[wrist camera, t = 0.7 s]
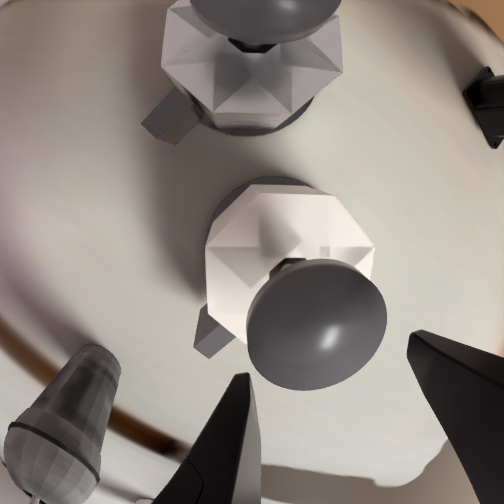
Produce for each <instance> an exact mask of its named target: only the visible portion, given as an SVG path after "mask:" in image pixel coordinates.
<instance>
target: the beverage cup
mask: <svg viewBox="0 0 504 504" xmlns="http://www.w3.org/2000/svg"><path fill="white" fill-rule="evenodd" d="M120 374H121V367H120V365H119V362H118V361H117V359H116V358H115V357H114V355H112V354H111V353H110V352H109V351H108V350H106V349H104V348H103V347H100V346H97V345H91V344H88V345H85V346H83V347H82V348H81V349H80V350H79V351H78V352H77V353H76V354H75V355H74V356H73V357H72V358H71V359H70V360H69V361H68V362H67V364H66V365H65V366H64V367H63V368H62V369H61V371H60V372H59V373H58V374H57V375H56V376H55V378H54V379H53V380H52V381H51V382H50V384H49V385H48V386H47V387H46V388H45V390H44V391H43V392H42V393H41V394H40V396H39V397H38V398H37V399H36V401H35V402H34V403H33V404H32V405H31V407H30V408H27V409H26V410H25V411H24V412H23V413H22V414H21V415H20V416H19V417H18V418H17V419H16V421H15V422H11V424H10V425H9V427H8V433H7V435H6V438H5V442H4V459H5V463H6V467H7V469H8V472H9V474H10V476H11V478H12V480H13V481H14V483H15V484H16V486H17V487H18V488H19V489H20V490H21V491H22V492H23V493H24V494H25V495H26V496H28V497H29V498H31V500H30V503H29V504H82V503H84V502H85V501H86V500H87V499H88V498H89V496H90V495H91V493H92V492H93V490H94V488H95V487H96V485H97V484H98V482H99V481H100V477H99V472H100V465H101V455H100V452H101V448H102V444H103V439H104V435H105V431H106V427H107V423H108V419H109V416H110V412H111V408H112V405H113V401H114V397H115V394H116V390H117V387H118V381H119V376H120Z"/></svg>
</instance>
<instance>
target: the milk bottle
mask: <svg viewBox="0 0 504 504" xmlns="http://www.w3.org/2000/svg"><path fill="white" fill-rule="evenodd" d="M152 501H153V500H150V499H139V500H137V501H136V502H135V504H151V502H152Z"/></svg>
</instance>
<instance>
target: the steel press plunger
mask: <svg viewBox="0 0 504 504" xmlns="http://www.w3.org/2000/svg"><path fill="white" fill-rule="evenodd" d="M189 1H190V4H191V7H192V9H193V11H194V12H195V14H196V15H197V16H198V18H199V19H200V20H201V21H202V22H203V23H204V24H206V25H207V26H208V27H210V28H211V29H213V30H214V31H216V32H218V33H220V34H222V35H224V36H227V37H230V38H232V39H236V40H239V41H242V42H243V45H244V46H245V47H247V48H249V49H257V48H259V47H260V46H261V45H262V44H282V43H288V42H293V41H297V40H300V39H303V38H305V37H308V36H310V35H312V34H314V33H315V32H317V31H318V30H319V29H321V28H322V27H323V26H324V25H325V24H326V23H327V21H328V20H329V19H330V17H331V16H332V15H333V13H334V12H335V11H336V9H337V8H338V6H339V5H340V3H341V0H189Z"/></svg>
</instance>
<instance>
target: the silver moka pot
mask: <svg viewBox="0 0 504 504" xmlns="http://www.w3.org/2000/svg"><path fill="white" fill-rule="evenodd" d="M161 67H162V69H163V70H164V71H165V73H166V74H167V75H168V77H169V78H170V79H171V81H172V82H173V83H174V85H175V86H176V88H175V89H174V90H173V91H172V92H171V93H170V94H169V95H168V96H167V97H166V98H165V99H164V100H163V101H162V102H161V103H160V104H159V105H158V106H157V107H156V108H155V109H154V110H153V111H152V112H151V113H150V114H149V115H148V116H147V117H146V118H145V119H144V120H143V122H142V123H141V124H142V125H143V126H144V127H145V128H146V129H147V130H148V131H149V132H150V133H151V134H152V135H153V136H155V137H156V138H157V139H158V140H162V141H165V142H168V143H171V144H174V145H176V144H177V143H178V142H179V141H180V140H181V139H182V138H183V137H184V136H185V135H186V134H187V133H188V132H189V131H190V130H191V129H192V128H193V127H194V126H195V125H196V124H197V123H198V122H199V121H200V122H201V123H203V124H204V125H206V126H208V127H209V128H211V129H213V130H215V131H218V132H220V133H224V134H227V135H232V136H238V137H256V136H263V135H267V134H270V133H274V132H276V131H278V130H281V129H283V128H284V127H286V126H288V125H290V124H291V123H292V122H294V121H295V120H296V119H298V118H299V117H300V116H301V115H302V114H303V113H304V112H305V111H306V109H307V108H308V107H309V105H310V104H311V102H312V100H313V98H314V96H315V95H316V94H317V93H318V92H320V91H321V90H322V89H323V88H324V87H326V86H327V85H328V84H329V83H331V82H332V81H333V80H334V79H336V78H337V77H338V76H339V75H341V74H342V73H343V67H342V48H341V34H340V22H339V16H338V15H337V14H336V13H335V12H334V13H333V15H332V16H331V17H330V19H329V20H328V21H327V23H326V24H325V25H324V26H323V27H322V28H321V29H319V30H318V31H317V32H315V33H314V34H312V35H310V36H308V37H305V38H303V39H300V40H297V41H293V42H288V43H282V44H262V45H261V46H260V47H259V48H257V49H249V48H247V47H245V46H244V45H243V42H242V41H239V40H236V39H232V38H230V37H227V36H224V35H222V34H220V33H218V32H216V31H214V30H213V29H211V28H210V27H208V26H207V25H206V24H204V23H203V22H202V21H201V20H200V19H199V18H198V16H197V15H196V14H195V12H194V11H193V9H192V7H191V4H190V1H189V0H178V1H177V2H175V3H174V4H173V5H171V6H170V7H169V8H167V15H166V23H165V30H164V39H163V48H162V59H161Z"/></svg>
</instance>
